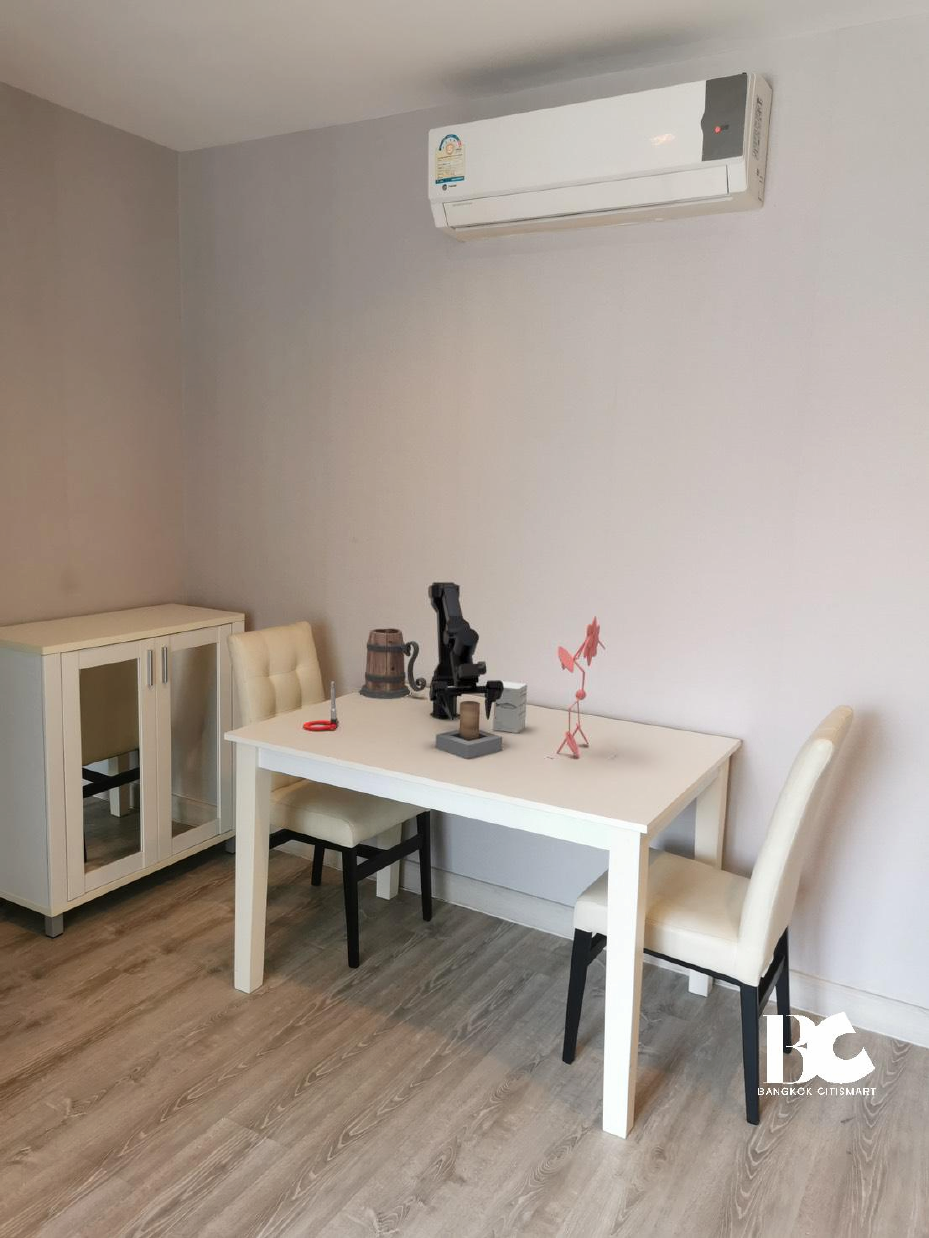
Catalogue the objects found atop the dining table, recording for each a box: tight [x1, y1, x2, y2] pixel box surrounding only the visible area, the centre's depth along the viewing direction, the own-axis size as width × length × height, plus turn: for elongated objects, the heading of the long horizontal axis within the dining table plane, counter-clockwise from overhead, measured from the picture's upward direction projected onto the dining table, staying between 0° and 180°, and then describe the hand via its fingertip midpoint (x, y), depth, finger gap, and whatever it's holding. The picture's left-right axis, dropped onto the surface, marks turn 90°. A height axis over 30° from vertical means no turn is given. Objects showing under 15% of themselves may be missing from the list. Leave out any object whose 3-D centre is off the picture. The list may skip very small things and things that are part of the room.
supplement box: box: [492, 680, 528, 734], centre depth 257 cm, size 7×7×13 cm
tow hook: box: [302, 681, 340, 732], centre depth 254 cm, size 8×13×9 cm
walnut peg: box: [458, 700, 481, 741], centre depth 238 cm, size 5×5×12 cm
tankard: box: [358, 627, 427, 700], centre depth 293 cm, size 24×17×20 cm
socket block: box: [435, 728, 503, 760], centre depth 238 cm, size 12×12×4 cm
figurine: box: [546, 615, 616, 760], centre depth 235 cm, size 15×26×35 cm, turn 158°
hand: (470, 719), depth 236 cm, fingers open, 9 cm apart
